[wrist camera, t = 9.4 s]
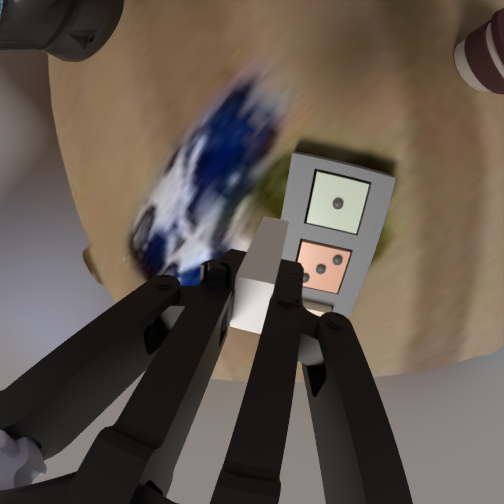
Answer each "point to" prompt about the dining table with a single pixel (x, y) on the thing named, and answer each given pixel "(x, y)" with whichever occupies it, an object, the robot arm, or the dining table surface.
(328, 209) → the tile one
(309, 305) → the tile two
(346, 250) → the tile three
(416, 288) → the dining table surface
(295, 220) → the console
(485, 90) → the coffee cup
